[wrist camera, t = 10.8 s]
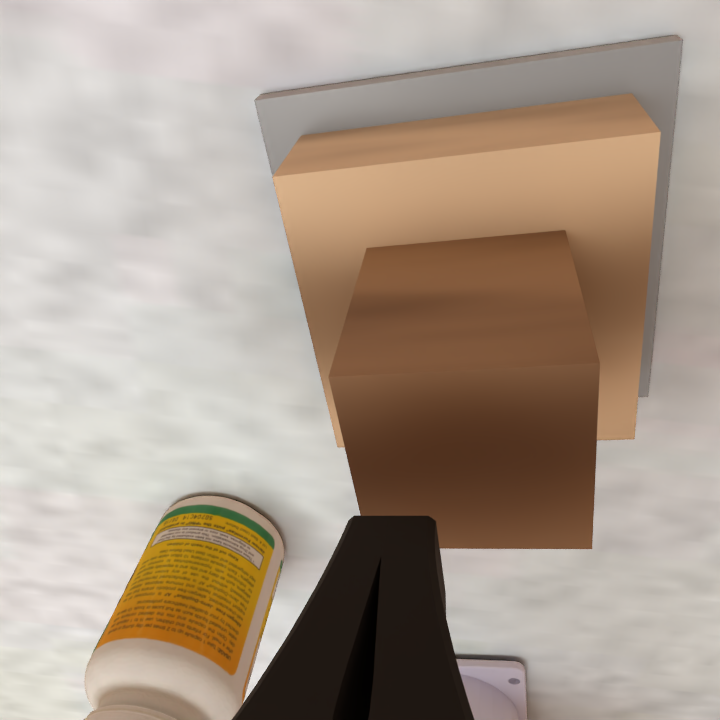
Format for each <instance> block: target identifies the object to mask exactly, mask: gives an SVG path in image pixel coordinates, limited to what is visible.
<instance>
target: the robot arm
mask: <svg viewBox="0 0 720 720" xmlns="http://www.w3.org/2000/svg"><path fill="white" fill-rule="evenodd" d="M232 720H527V702H526V680H525V667H524V665H522V664H521V663H519V662H516V661H499V660H473V659H456V657H455V653H454V650H453V645H452V641H451V637H450V633H449V629H448V625H447V620H446V598H445V585H444V578H443V570H442V563H441V555H440V548H439V540H438V533H437V525H436V521H435V520H434V519H433V518H431V517H430V516H353V517H352V518H351V519H350V520H349V521H348V523H347V525H346V528H345V530H344V532H343V534H342V537H341V539H340V541H339V543H338V545H337V547H336V549H335V551H334V553H333V555H332V557H331V559H330V561H329V563H328V565H327V567H326V569H325V571H324V573H323V575H322V577H321V578H320V580H319V582H318V584H317V586H316V588H315V590H314V591H313V593H312V595H311V597H310V598H309V600H308V602H307V604H306V605H305V607H304V609H303V611H302V612H301V614H300V616H299V617H298V619H297V621H296V623H295V624H294V626H293V628H292V630H291V631H290V633H289V635H288V636H287V638H286V639H285V641H284V643H283V644H282V646H281V647H280V649H279V650H278V652H277V654H276V655H275V657H274V658H273V660H272V661H271V663H270V664H269V666H268V667H267V669H266V671H265V672H264V674H263V675H262V677H261V678H260V680H259V681H258V683H257V684H256V686H255V687H254V689H253V690H252V692H251V693H250V695H249V696H248V697H247V699H246V700H245V702H244V703H243V705H242V706H241V707H240V709H239V710H238V712H237V713H236V714H235V716H234V717H233V719H232Z"/></svg>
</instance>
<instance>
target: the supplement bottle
mask: <svg viewBox="0 0 720 720" xmlns="http://www.w3.org/2000/svg"><path fill="white" fill-rule="evenodd" d="M283 561H284V546H283V542H282V539H281V537H280V535H279V533H278V531H277V530H276V529H275V527H274V526H273V525H272V524H271V522H270V521H268V520H267V519H266V518H265V517H264V516H262V515H261V514H259V513H258V512H256V511H255V510H253V509H252V508H250V507H249V506H247V505H245V504H243V503H240V502H238V501H235V500H232V499H229V498H225V497H219V496H197V497H192V498H188V499H185V500H182V501H180V502H178V503H176V504H175V505H173V506H172V507H171V508H170V509H169V510H168V511H167V512H166V513H165V514H164V515H163V517H162V518H161V520H160V522H159V524H158V526H157V528H156V530H155V531H154V533H153V535H152V537H151V539H150V541H149V543H148V545H147V547H146V549H145V551H144V553H143V555H142V557H141V559H140V561H139V563H138V565H137V567H136V569H135V571H134V573H133V575H132V577H131V579H130V581H129V582H128V584H127V586H126V589H125V591H124V593H123V595H122V597H121V599H120V600H119V602H118V605H117V607H116V609H115V611H114V613H113V615H112V617H111V619H110V621H109V623H108V624H107V626H106V628H105V630H104V632H103V634H102V636H101V638H100V639H99V641H98V643H97V645H96V647H95V649H94V651H93V653H92V656H91V658H90V660H89V663H88V665H87V668H86V672H85V691H86V694H87V698H88V700H89V702H90V704H91V706H92V707H93V709H94V711H92V712H91V713H90V714H89V715H88V716H87V718H85V719H84V720H232V719H233V717H234V716H235V714H236V713H237V712H238V710H239V709H240V707H241V706H242V704H243V701H244V698H245V694H246V691H247V687H248V684H249V680H250V677H251V673H252V670H253V667H254V663H255V660H256V656H257V653H258V649H259V645H260V642H261V638H262V635H263V631H264V628H265V625H266V621H267V618H268V614H269V611H270V608H271V605H272V601H273V598H274V595H275V591H276V587H277V584H278V580H279V577H280V573H281V569H282V565H283Z"/></svg>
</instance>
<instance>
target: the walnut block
mask: <svg viewBox="0 0 720 720" xmlns="http://www.w3.org/2000/svg"><path fill="white" fill-rule="evenodd" d="M599 377H600V361H599V357H598V353H597V349H596V346H595V342H594V338H593V334H592V330H591V326H590V323H589V319H588V315H587V311H586V307H585V303H584V300H583V296H582V292H581V288H580V284H579V280H578V277H577V273H576V269H575V265H574V261H573V257H572V254H571V250H570V246H569V242H568V238H567V235H566V231H565V230H559V231H548V232H537V233H526V234H515V235H504V236H493V237H482V238H471V239H460V240H449V241H438V242H427V243H416V244H405V245H394V246H383V247H372V248H366V252H365V255H364V259H363V262H362V265H361V269H360V272H359V275H358V279H357V282H356V286H355V289H354V292H353V296H352V299H351V302H350V306H349V309H348V313H347V316H346V319H345V323H344V326H343V329H342V333H341V336H340V339H339V343H338V346H337V350H336V353H335V356H334V360H333V363H332V366H331V370H330V373H329V377H328V378H329V382H330V386H331V390H332V395H333V399H334V403H335V408H336V412H337V416H338V420H339V425H340V429H341V433H342V437H343V442H344V446H345V450H346V454H347V459H348V463H349V467H350V471H351V476H352V480H353V484H354V488H355V493H356V497H357V501H358V505H359V510H360V514H361V516H430V517H431V518H433V519H434V520H435V521H436V525H437V533H438V540H439V548H468V549H592V536H593V513H594V491H595V468H596V445H597V422H598V399H599Z"/></svg>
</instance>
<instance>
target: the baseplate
mask: <svg viewBox="0 0 720 720" xmlns="http://www.w3.org/2000/svg"><path fill="white" fill-rule="evenodd" d="M682 43H683V40H682V39H681V38H680V37H678V36H677V35H673V36H666V37H659V38H652V39H645V40H638V41H631V42H624V43H617V44H610V45H603V46H596V47H589V48H582V49H575V50H568V51H561V52H554V53H547V54H540V55H533V56H526V57H519V58H512V59H505V60H498V61H491V62H484V63H477V64H470V65H463V66H456V67H449V68H442V69H435V70H428V71H421V72H414V73H407V74H400V75H393V76H386V77H379V78H372V79H365V80H358V81H351V82H344V83H337V84H330V85H323V86H316V87H309V88H302V89H295V90H288V91H281V92H274V93H267V94H260V95H259V96H258V97H257V98H256V99H255V100H254V101H255V105H256V109H257V113H258V118H259V122H260V126H261V130H262V134H263V138H264V142H265V147H266V151H267V155H268V159H269V163H270V167H271V172H272V176H273V175H274V174H275V172H276V171H277V169H278V168H279V167H280V165H281V164H282V162H283V161H284V159H285V158H286V156H287V155H288V154H289V152H290V151H291V149H292V148H293V146H294V145H295V143H296V142H297V140H298V139H299V138H300V136H301V135H309V134H317V133H325V132H332V131H340V130H348V129H356V128H364V127H371V126H379V125H387V124H395V123H403V122H411V121H418V120H426V119H434V118H442V117H450V116H457V115H465V114H473V113H481V112H489V111H496V110H504V109H512V108H520V107H528V106H535V105H543V104H551V103H559V102H567V101H575V100H582V99H590V98H598V97H606V96H614V95H621V94H629V93H632V94H633V95H634V97H635V98H636V99H637V101H638V102H639V103H640V105H641V106H642V107H643V109H644V110H645V111H646V113H647V114H648V115H649V117H650V118H651V119H652V121H653V122H654V123H655V125H656V126H657V127H658V129H659V130H660V131H661V136H660V147H659V159H658V170H657V182H656V194H655V205H654V217H653V228H652V240H651V251H650V263H649V275H648V286H647V298H646V309H645V321H644V333H643V344H642V356H641V367H640V379H639V390H638V397H648V393H649V383H650V373H651V362H652V352H653V342H654V331H655V321H656V311H657V301H658V290H659V280H660V270H661V259H662V249H663V239H664V228H665V218H666V208H667V197H668V187H669V177H670V167H671V156H672V146H673V136H674V125H675V115H676V105H677V94H678V84H679V74H680V64H681V53H682Z"/></svg>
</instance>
